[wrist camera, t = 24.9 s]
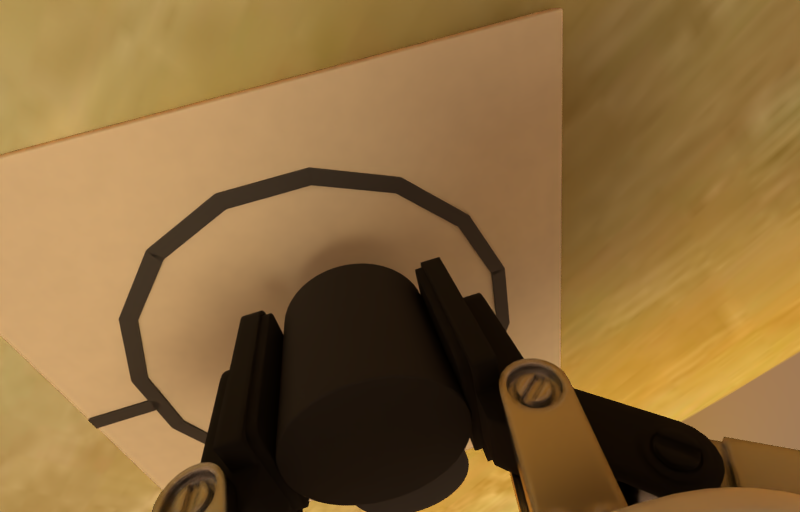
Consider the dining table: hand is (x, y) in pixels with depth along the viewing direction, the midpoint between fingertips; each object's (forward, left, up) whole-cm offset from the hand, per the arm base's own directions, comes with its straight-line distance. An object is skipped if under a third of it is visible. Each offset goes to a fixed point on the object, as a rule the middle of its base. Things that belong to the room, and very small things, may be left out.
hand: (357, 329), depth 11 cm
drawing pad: (+1, +3, -3) cm, 4 cm away
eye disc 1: (0, 0, 0) cm, 0 cm away
